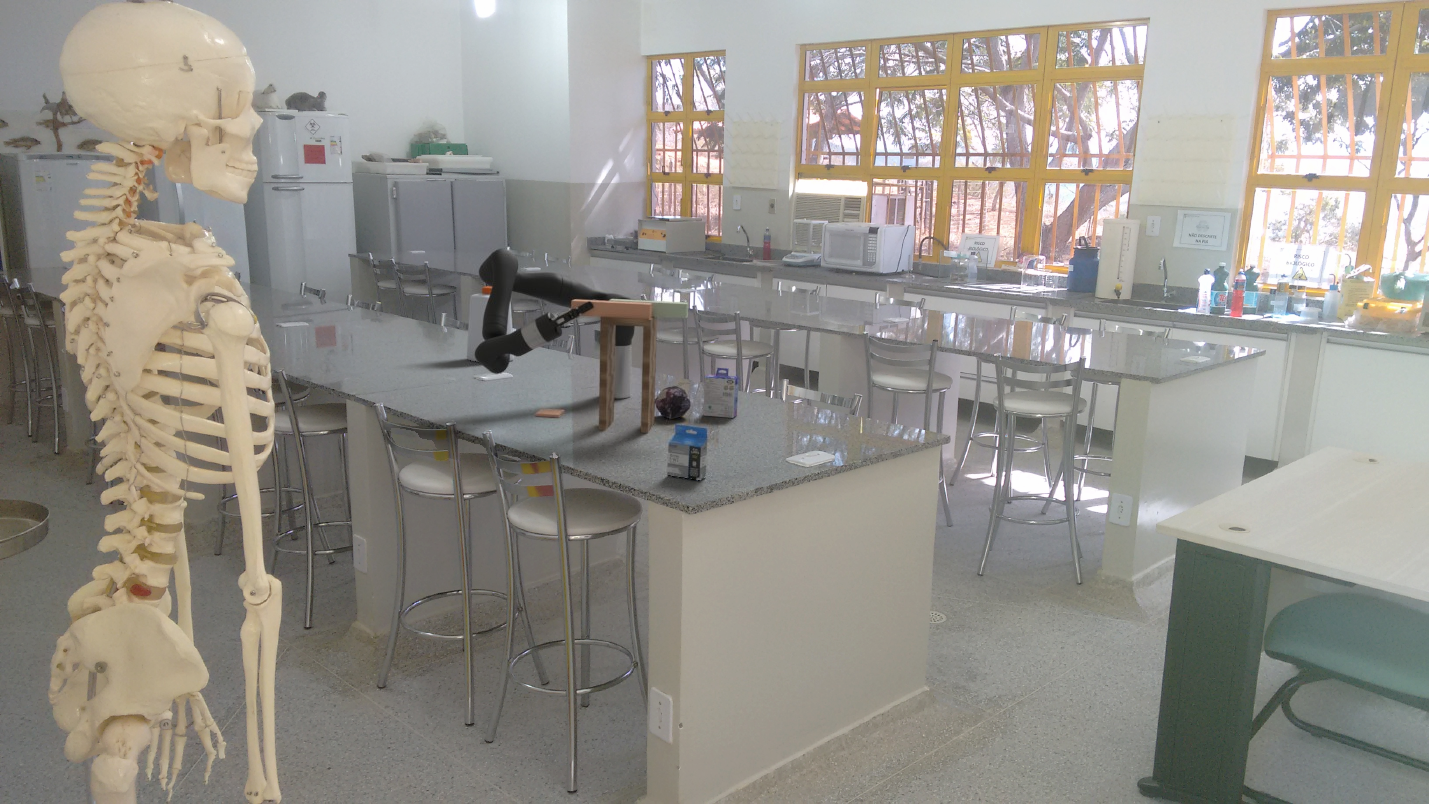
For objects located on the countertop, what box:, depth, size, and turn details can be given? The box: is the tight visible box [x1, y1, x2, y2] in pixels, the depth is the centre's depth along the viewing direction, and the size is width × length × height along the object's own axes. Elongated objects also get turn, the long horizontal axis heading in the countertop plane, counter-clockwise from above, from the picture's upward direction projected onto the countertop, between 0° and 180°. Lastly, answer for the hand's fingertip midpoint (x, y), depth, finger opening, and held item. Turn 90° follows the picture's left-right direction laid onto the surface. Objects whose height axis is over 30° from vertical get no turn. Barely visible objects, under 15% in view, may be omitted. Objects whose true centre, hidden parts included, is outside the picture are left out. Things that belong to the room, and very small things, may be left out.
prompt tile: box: [535, 408, 565, 418], centre depth 309 cm, size 7×7×1 cm
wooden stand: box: [598, 317, 658, 434], centre depth 294 cm, size 12×14×32 cm
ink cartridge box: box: [702, 367, 739, 419], centre depth 315 cm, size 10×6×14 cm, turn 78°
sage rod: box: [609, 299, 689, 319], centre depth 293 cm, size 4×22×4 cm, turn 85°
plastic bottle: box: [466, 285, 515, 363], centre depth 394 cm, size 15×15×28 cm
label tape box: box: [666, 423, 709, 481], centre depth 248 cm, size 9×4×12 cm, turn 66°
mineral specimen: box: [655, 385, 692, 420], centre depth 311 cm, size 10×10×10 cm
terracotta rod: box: [570, 299, 652, 319], centre depth 288 cm, size 4×22×4 cm, turn 85°
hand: (593, 303), depth 288 cm, fingers closed on terracotta rod, 4 cm apart
